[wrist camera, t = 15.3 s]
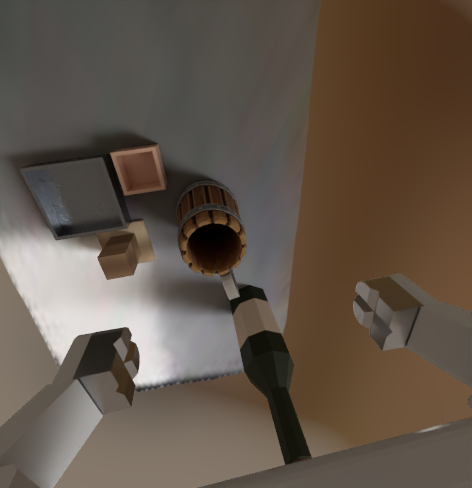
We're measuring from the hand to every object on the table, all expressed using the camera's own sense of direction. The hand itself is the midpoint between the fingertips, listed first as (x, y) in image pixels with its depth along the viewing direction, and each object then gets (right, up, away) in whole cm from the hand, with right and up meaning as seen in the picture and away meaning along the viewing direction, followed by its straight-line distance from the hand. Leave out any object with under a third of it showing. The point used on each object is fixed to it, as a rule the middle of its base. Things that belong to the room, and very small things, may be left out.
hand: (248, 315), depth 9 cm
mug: (-5, +7, +36) cm, 37 cm away
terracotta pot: (-15, +15, +30) cm, 36 cm away
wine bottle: (+2, -10, +46) cm, 47 cm away
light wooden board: (-20, +3, +35) cm, 41 cm away
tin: (-24, +10, +30) cm, 40 cm away
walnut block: (-20, +2, +35) cm, 40 cm away
